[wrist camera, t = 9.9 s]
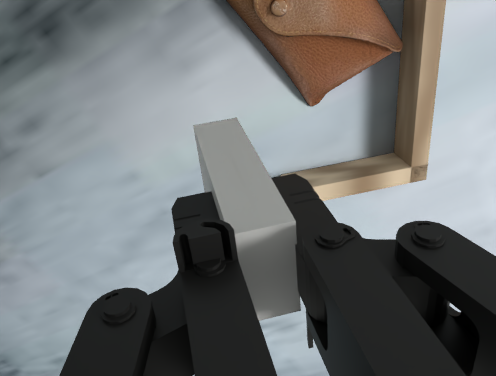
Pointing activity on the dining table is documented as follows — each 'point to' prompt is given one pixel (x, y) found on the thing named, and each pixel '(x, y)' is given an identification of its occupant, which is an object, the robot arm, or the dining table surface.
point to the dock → (397, 114)
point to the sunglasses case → (321, 38)
